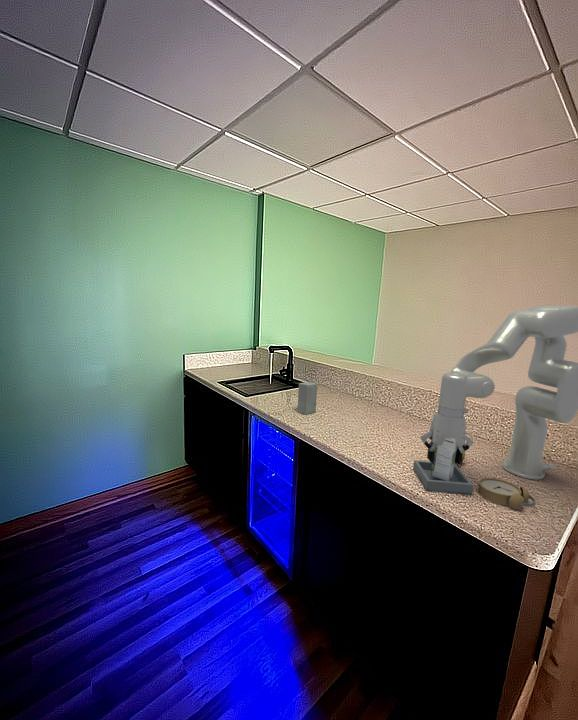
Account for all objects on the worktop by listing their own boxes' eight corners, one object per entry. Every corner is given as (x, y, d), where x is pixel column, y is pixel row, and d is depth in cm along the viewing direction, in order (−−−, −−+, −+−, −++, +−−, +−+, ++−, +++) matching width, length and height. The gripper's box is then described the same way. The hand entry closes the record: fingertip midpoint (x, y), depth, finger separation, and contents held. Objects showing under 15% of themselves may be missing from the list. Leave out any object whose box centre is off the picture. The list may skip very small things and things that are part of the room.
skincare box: (305, 415, 167) (307, 385, 164) (296, 411, 172) (297, 382, 169) (316, 412, 172) (318, 383, 170) (307, 408, 178) (309, 380, 175)
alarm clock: (485, 474, 109) (540, 487, 97) (486, 488, 109) (541, 503, 97) (471, 484, 101) (528, 500, 90) (472, 500, 102) (529, 517, 90)
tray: (453, 472, 114) (454, 463, 114) (472, 495, 100) (473, 485, 100) (413, 469, 115) (414, 460, 115) (426, 491, 101) (427, 481, 101)
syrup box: (435, 469, 111) (440, 429, 109) (453, 475, 108) (459, 434, 105) (430, 475, 107) (435, 434, 105) (449, 482, 103) (455, 440, 101)
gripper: (472, 409, 107) (465, 458, 110) (419, 406, 108) (413, 454, 111) (484, 417, 99) (476, 469, 102) (426, 413, 101) (420, 465, 104)
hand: (443, 461), depth 107 cm, fingers closed on syrup box, 7 cm apart
